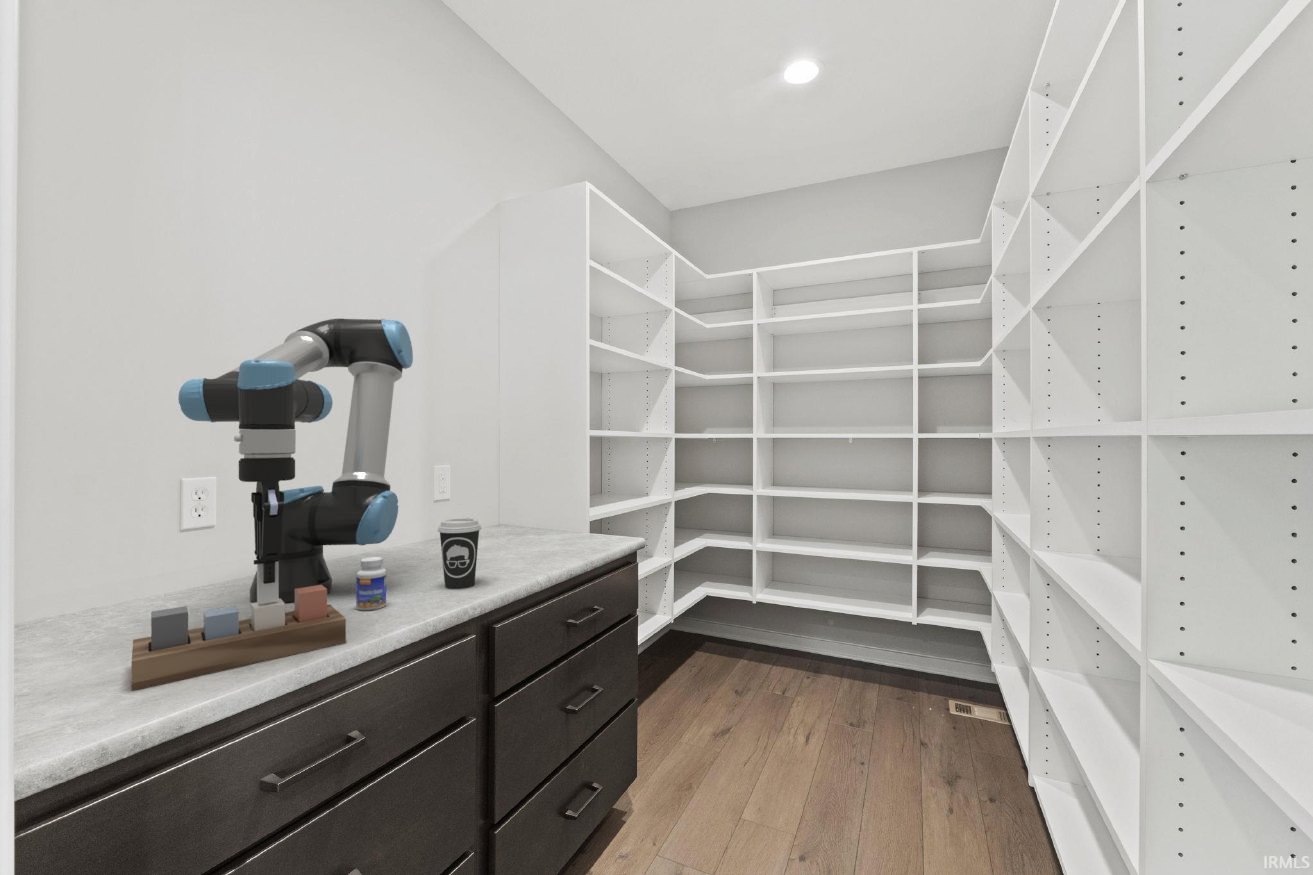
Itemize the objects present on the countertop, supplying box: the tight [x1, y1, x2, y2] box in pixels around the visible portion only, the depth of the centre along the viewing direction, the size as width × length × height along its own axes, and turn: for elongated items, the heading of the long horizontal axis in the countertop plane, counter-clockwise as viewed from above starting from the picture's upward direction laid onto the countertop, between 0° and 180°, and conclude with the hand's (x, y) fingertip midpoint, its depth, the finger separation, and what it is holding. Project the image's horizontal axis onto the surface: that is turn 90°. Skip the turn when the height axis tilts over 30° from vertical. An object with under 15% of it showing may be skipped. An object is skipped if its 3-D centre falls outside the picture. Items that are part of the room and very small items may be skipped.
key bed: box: [131, 603, 347, 692], centre depth 88 cm, size 11×26×4 cm, turn 132°
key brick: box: [294, 585, 328, 623], centre depth 94 cm, size 4×4×5 cm
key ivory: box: [250, 598, 286, 632], centre depth 90 cm, size 4×4×5 cm
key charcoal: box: [150, 605, 189, 651], centre depth 82 cm, size 4×4×5 cm
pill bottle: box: [355, 556, 387, 611], centre depth 113 cm, size 5×5×10 cm
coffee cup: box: [437, 517, 482, 590], centre depth 129 cm, size 10×10×15 cm
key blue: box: [203, 605, 240, 641], centre depth 86 cm, size 4×4×5 cm
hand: (267, 601), depth 90 cm, fingers closed
